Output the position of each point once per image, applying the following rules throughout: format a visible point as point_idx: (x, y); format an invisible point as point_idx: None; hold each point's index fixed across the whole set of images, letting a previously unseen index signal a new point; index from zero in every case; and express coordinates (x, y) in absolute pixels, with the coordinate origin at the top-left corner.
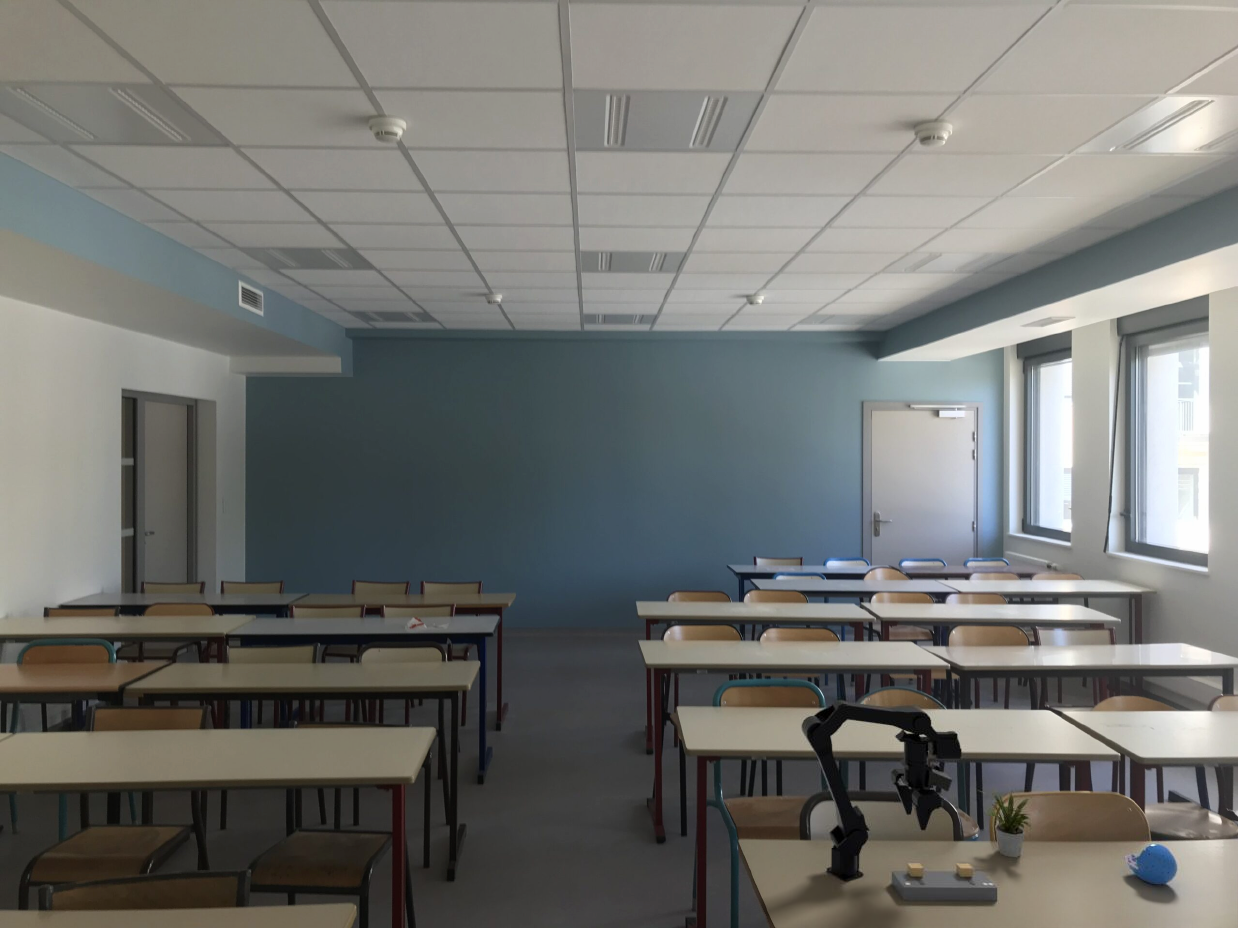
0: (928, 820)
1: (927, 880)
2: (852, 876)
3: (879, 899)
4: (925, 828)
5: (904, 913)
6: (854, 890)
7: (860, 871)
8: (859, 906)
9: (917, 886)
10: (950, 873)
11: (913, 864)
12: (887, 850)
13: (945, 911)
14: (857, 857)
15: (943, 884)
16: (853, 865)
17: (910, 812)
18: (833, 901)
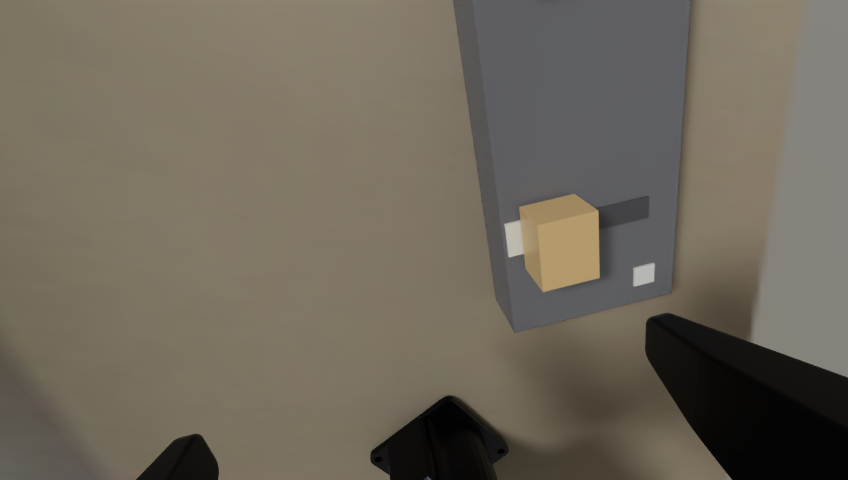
0: (838, 376)
1: (605, 175)
2: (482, 431)
3: (628, 344)
4: (684, 322)
5: (729, 270)
6: (567, 415)
7: (434, 409)
8: (672, 399)
9: (664, 233)
10: (508, 6)
11: (555, 260)
12: (124, 297)
13: (734, 103)
14: (447, 469)
15: (649, 91)
16: (487, 464)
17: (194, 458)
18: (639, 461)
